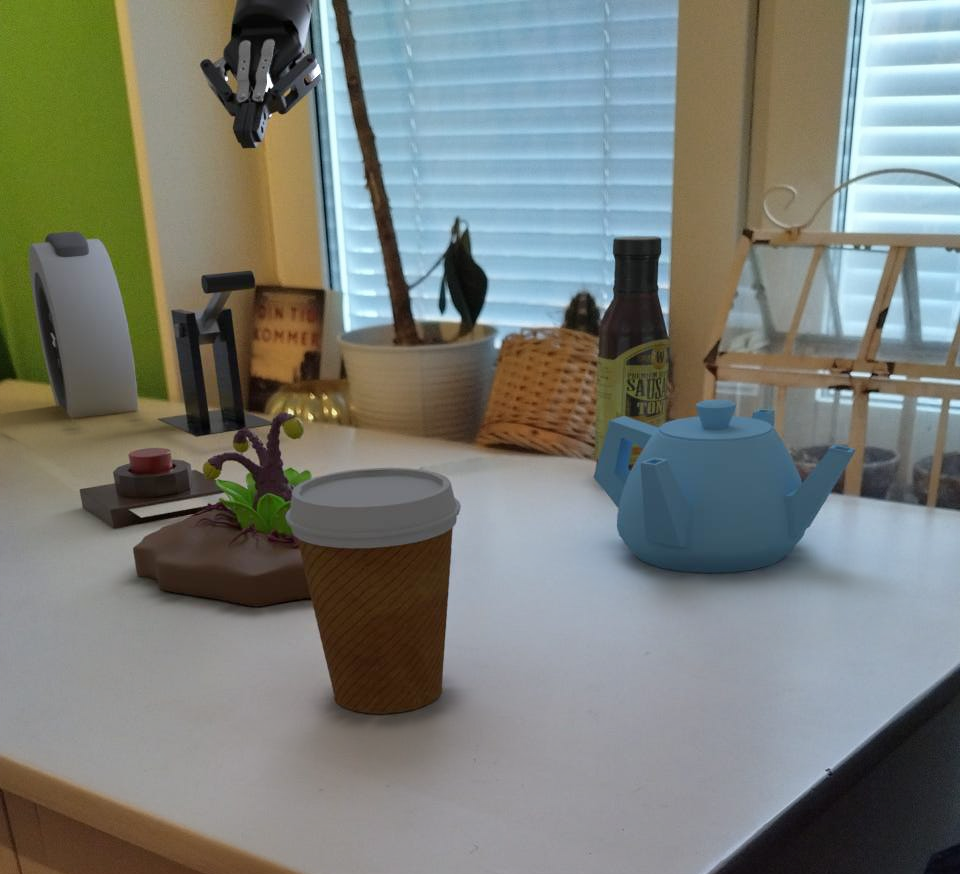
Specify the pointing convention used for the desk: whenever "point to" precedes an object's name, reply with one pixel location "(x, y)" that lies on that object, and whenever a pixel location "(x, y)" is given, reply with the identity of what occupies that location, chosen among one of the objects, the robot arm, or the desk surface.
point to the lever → (219, 300)
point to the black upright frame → (193, 380)
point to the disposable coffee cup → (378, 581)
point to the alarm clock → (82, 326)
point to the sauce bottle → (632, 343)
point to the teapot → (712, 489)
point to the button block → (146, 494)
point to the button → (150, 460)
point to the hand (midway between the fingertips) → (246, 141)
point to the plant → (236, 532)
